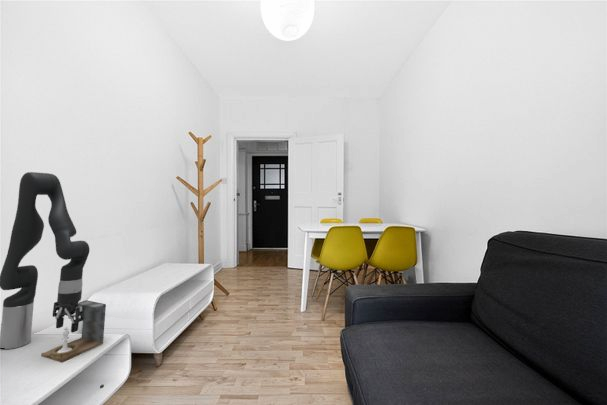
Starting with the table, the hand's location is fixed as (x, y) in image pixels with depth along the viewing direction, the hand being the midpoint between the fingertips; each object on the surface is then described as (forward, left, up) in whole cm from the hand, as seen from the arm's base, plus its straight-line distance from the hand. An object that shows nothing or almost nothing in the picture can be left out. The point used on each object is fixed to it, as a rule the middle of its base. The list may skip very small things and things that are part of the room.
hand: (66, 329), depth 111 cm
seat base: (-1, +4, -10) cm, 11 cm away
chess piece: (0, 0, -9) cm, 9 cm away
